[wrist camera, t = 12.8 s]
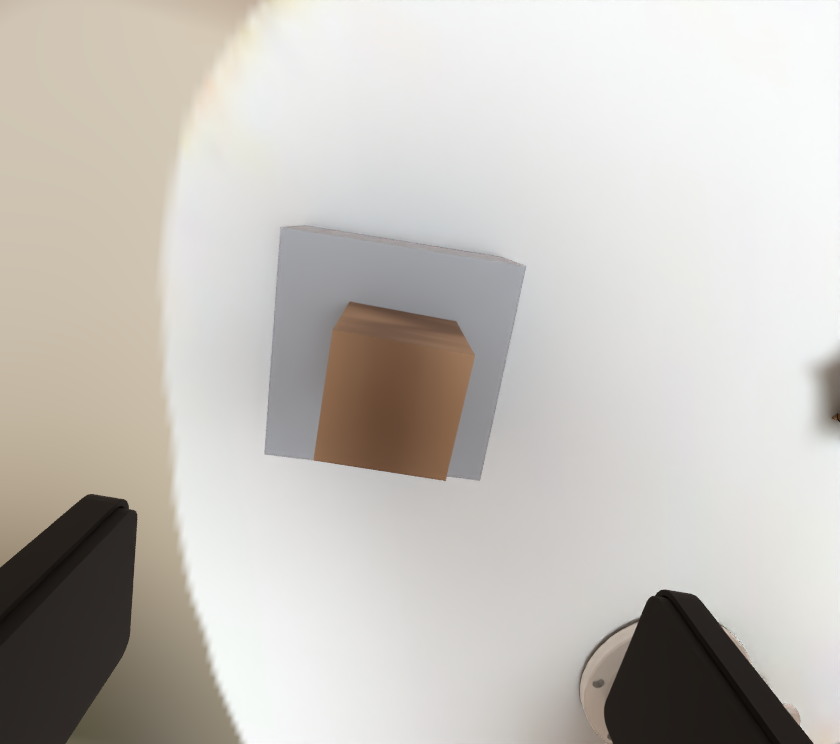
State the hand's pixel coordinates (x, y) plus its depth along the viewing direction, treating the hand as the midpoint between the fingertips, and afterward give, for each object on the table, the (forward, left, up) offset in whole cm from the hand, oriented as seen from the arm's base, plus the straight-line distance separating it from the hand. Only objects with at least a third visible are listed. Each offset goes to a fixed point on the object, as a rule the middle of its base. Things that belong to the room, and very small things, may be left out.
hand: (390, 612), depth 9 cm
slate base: (0, 0, -21) cm, 21 cm away
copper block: (0, 0, -15) cm, 15 cm away
